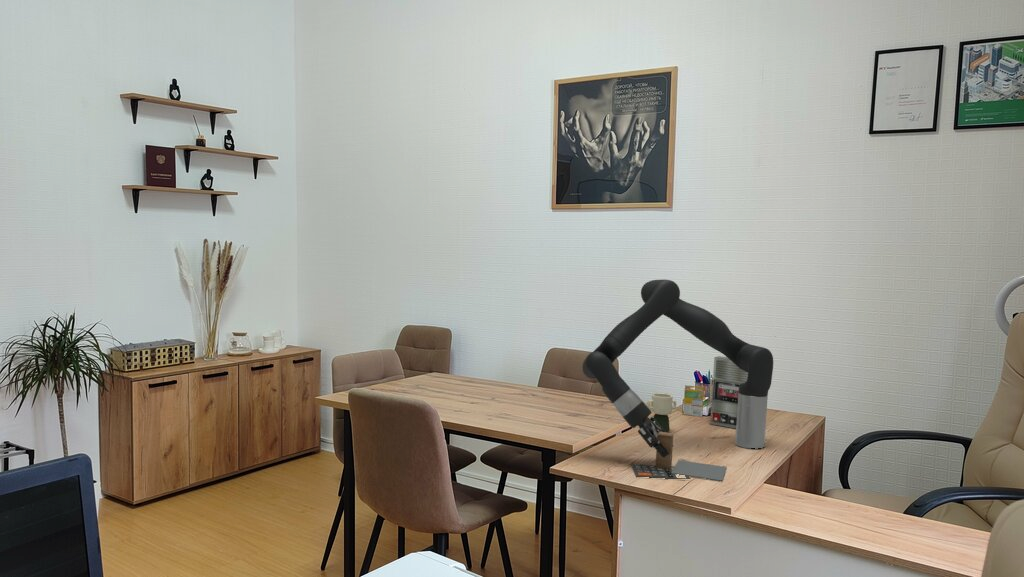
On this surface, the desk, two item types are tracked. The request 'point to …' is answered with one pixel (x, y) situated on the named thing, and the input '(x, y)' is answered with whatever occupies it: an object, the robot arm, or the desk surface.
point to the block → (668, 444)
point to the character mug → (662, 408)
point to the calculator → (655, 472)
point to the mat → (699, 470)
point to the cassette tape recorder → (726, 392)
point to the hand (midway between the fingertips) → (668, 451)
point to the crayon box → (693, 401)
